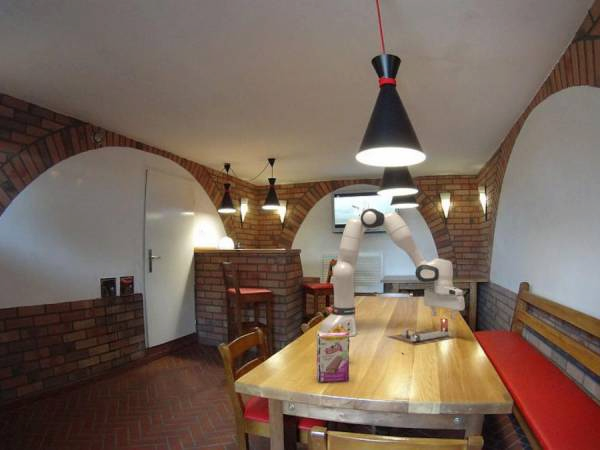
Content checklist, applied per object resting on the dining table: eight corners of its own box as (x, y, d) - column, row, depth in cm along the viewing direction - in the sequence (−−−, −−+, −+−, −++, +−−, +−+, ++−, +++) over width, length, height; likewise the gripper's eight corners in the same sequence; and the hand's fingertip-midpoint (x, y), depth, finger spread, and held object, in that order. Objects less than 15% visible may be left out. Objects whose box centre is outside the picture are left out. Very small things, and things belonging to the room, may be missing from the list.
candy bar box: (319, 383, 130) (318, 336, 131) (316, 378, 135) (316, 332, 136) (349, 381, 132) (349, 335, 133) (346, 376, 137) (345, 331, 138)
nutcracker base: (415, 348, 172) (414, 336, 173) (386, 339, 189) (386, 328, 189) (457, 340, 186) (456, 329, 186) (427, 332, 203) (427, 322, 203)
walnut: (412, 340, 182) (412, 332, 182) (406, 338, 185) (406, 330, 186) (418, 339, 184) (418, 331, 184) (412, 337, 187) (412, 329, 188)
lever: (415, 342, 175) (414, 324, 176) (409, 340, 179) (409, 323, 179) (450, 335, 187) (449, 319, 188) (444, 334, 191) (444, 317, 191)
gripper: (421, 287, 194) (421, 314, 194) (460, 292, 180) (460, 321, 179) (427, 287, 199) (427, 313, 198) (466, 291, 184) (466, 319, 183)
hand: (443, 317), depth 188 cm, fingers open, 8 cm apart
